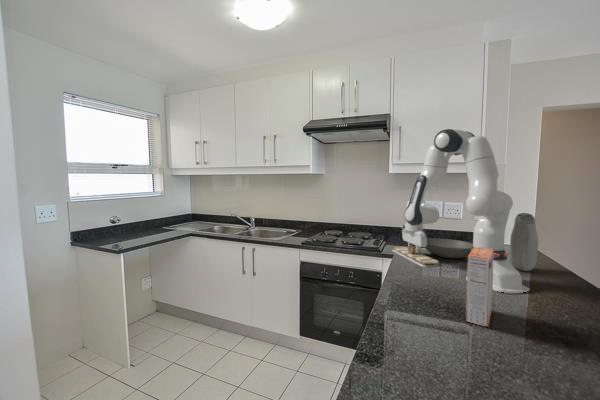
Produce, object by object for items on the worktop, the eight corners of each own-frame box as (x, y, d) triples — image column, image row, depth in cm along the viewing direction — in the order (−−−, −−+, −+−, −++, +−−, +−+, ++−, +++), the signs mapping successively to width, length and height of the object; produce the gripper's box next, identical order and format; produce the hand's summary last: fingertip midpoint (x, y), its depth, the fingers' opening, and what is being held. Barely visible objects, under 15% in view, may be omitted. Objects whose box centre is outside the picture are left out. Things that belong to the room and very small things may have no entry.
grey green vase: (540, 274, 125) (543, 214, 124) (514, 272, 129) (516, 213, 127) (530, 268, 135) (533, 212, 133) (505, 266, 138) (508, 211, 136)
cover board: (438, 263, 137) (438, 253, 137) (423, 263, 136) (423, 253, 136) (406, 248, 170) (406, 240, 170) (393, 249, 169) (393, 241, 169)
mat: (439, 266, 137) (439, 265, 137) (421, 267, 136) (421, 266, 136) (406, 250, 171) (406, 249, 171) (391, 250, 170) (391, 249, 170)
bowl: (474, 267, 137) (475, 251, 136) (416, 257, 154) (416, 243, 153) (478, 255, 159) (479, 241, 158) (427, 248, 175) (427, 236, 175)
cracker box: (470, 306, 93) (473, 246, 92) (492, 311, 89) (495, 249, 88) (464, 322, 82) (466, 254, 81) (488, 329, 78) (491, 258, 77)
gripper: (430, 230, 142) (429, 256, 143) (410, 224, 163) (410, 247, 163) (419, 230, 142) (418, 256, 142) (400, 225, 162) (400, 247, 163)
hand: (413, 251), depth 153 cm, fingers closed on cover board, 4 cm apart
